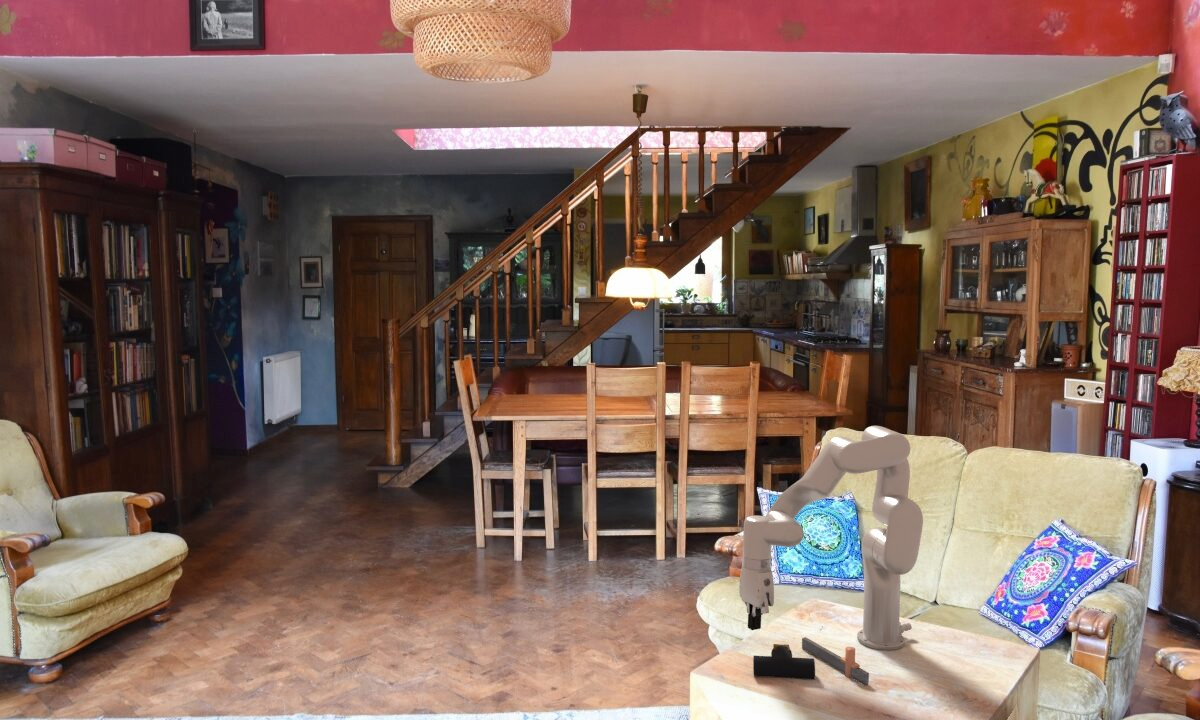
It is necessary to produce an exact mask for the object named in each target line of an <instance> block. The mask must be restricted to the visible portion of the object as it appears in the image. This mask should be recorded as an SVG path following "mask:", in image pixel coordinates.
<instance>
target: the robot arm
mask: <svg viewBox="0 0 1200 720" xmlns="http://www.w3.org/2000/svg"><path fill="white" fill-rule="evenodd" d="M910 453H911V444H910V442H909V439H908V438H907V436H905V435H903V434H902V433H899V432H897V431H895V430H891V429H889V428H887V427H884V426H881V425H871V426H868V427H866V428H865V429H864V431H863V432H862V436H861V440H854V439H852V438H849V437H847V436H841V435H837V436H834V437H832V438H831V439H829V441H827V443H825V445H824V446H823V448H822V450H821V451H820V452H819V454H818V455H817V456H816V458H815V460H814V461H813V463H811V465H810V467H809V468H808V469H807V471H806V472H805V473H804V475H803V476H801V478H800V479H799V480H797V481H796V482H795V483H793V484H792V485H790V486H789V487H788V488H787V489H785V490H784V491H783V492H782V493H781V494H780V495H779V496H778V497H777V499H775V502H773V504H772V506H771V507H770V508H769V509H768V512H767V513H766V515H750V516H747V517H746V518H745V519H744V521H743V535H742V536H743V537H742V539H743V541H742V543H743V544H742V564H741V569H740V574H739V575H740V576H739V585H738V586H739V589H738V590H739V592H738V593H739V596H740V598H741V601H742V602H743V604H744V605H745V607H746V612H747V628H748V629H749V630H750V631H754V630H760V629H761V628H762V616H763V614H765V615H766V614H769V613H770V608H769V607H773V606H774V604H775V603H774V602H775V587H774V575H773V570H771V569H772V567H771V565H772V546H776V547H783V548H792V547H796V546H798V545H800V544H801V542H802V541H803V539H804V536H805V533H804V532H805V531H804V528H803V527H802V525H801V524H800V522H798V521H797V520H796V519H795V518H796V517H797V516H798V514H799V513H800V512H801V511H802V510H803V509H804V508H805V507H806V506H808V505H809V504H812V503H813V502H817V501H821V500H824V499H827V498H828V497H830V496H831V495H832V493H833V492H834V490H835V489H836V487H838V485H839V483H840V482H841V480H842V479H843V477H844V476H845V475H846V473H847V474H852V475H856V474H863V473H864V474H865V473H869V472H873V471H874V472H875V471H876V482H875V489H874V494H873V502H872V508H871V512H872V516H873V517H874V518H875V520H876V521H878V523H880V524H882V525H884V526H885V527H873V528H871V529H869V530H867V532H866V533H865V534H864V536H863V538H862V541H861V542H862V543H861V555H862V560H863V562H862V563H863V573H864V575H863V579H864V580H863V613H862V614H863V620H862V621H863V622H862V623H863V625H862V629H861V630H859V631H858V632H857V634H856V639H857V640H858V642H859V643H861V644H862V645H864V646H866V647H868V648H871V649H876V650H884V651H895V650H898V649H901V648H903V647H904V646H905V644H906V639H905V637H904V636H903V633H905V632H907V631H911V630H912V629H913V628H912V627H913V626H912V624H911V623H910V622H906V623H903V624H902V623H901V622H900V611H901V609H900V608H901V576H902V575H906V574H909V572H911V571H912V570H913V568H914V567H915V565H916V563H917V560H918V557H919V552H920V551H919V550H920V545H921V539H922V532H923V527H924V526H923V525H924V515H923V512H922V509H921V507H920V506H919V504H917V503H916V501H914V500H913V499H911V498H910V497H909V489H910V478H911V477H910V476H911V468H910V464H909V460H908V457H909V455H910Z"/></svg>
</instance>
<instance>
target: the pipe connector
mask: <svg viewBox="0 0 1200 720" xmlns="http://www.w3.org/2000/svg"><path fill="white" fill-rule="evenodd" d="M790 647H791V646H790V644H779V643H773V648H772V649H771V653H770V654H771V655H770V656H769V655H753V659H752V660H753V664H752V665H753V667H752V668H753V670H752V671H753V677H763V678H776V679H777V678H781V679H798V680H799V679H801V680H816V663H815V658H813V657H812V658H811V657H809V658H808V657H793V652H792V650H791V648H790Z"/></svg>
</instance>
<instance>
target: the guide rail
mask: <svg viewBox="0 0 1200 720" xmlns="http://www.w3.org/2000/svg"><path fill="white" fill-rule="evenodd" d="M801 649H802V650H803V651H805V652H807V653H809V654H810V655H812V656H814V657H815V658H817V659H820V661H823V662H824V663H826V664H827V665H829V666H830V667H832V668H834V669H836V670H837V671H839V672H841V673H843V674H844V675H845V677H847V678H851V679H853V680H854V679H855V681H856V680H857V681H856V682H858V683H860V684H861V685H863V686H865V685H866V686H869V685H868V684H870V683H869V682H870V680H869V679H870V673H869V671H866V670H864V669H862V667H861V665H860V663H858V662H856V648H855V647H853V646H846V647H845V648H844V649H845V655H844V657H841V656H839V654H837V653H835V652H833V651H831V650H829V649H827V648H826V647H824V646H822V645H820V644H818V643H817V642H815V641H813V640H811V639H810V638H808V637H807V636H805V637H801Z"/></svg>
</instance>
